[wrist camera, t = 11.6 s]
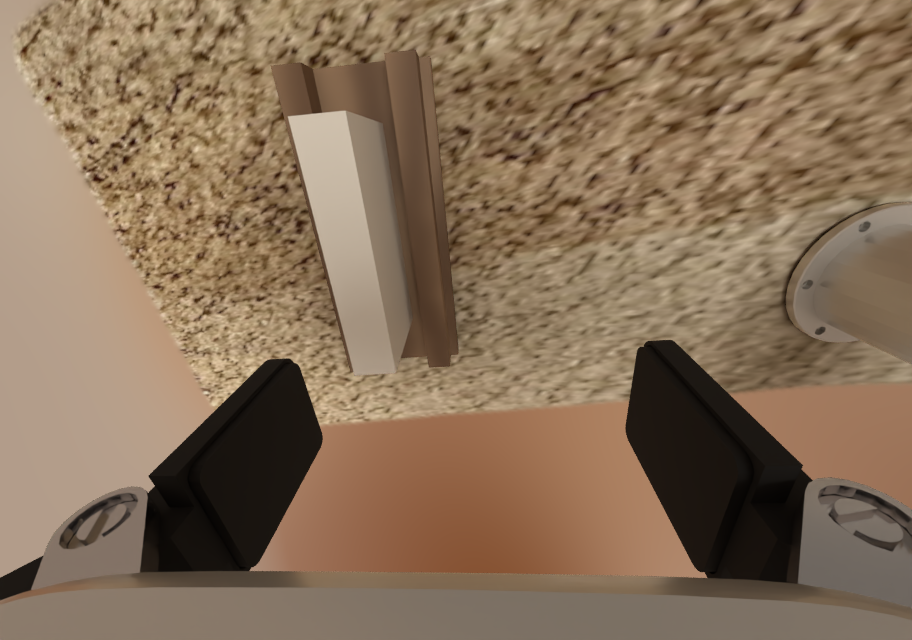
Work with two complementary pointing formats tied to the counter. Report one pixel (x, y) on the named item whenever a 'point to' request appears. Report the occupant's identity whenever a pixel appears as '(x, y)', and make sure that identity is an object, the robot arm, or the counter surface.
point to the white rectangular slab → (357, 233)
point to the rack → (393, 177)
